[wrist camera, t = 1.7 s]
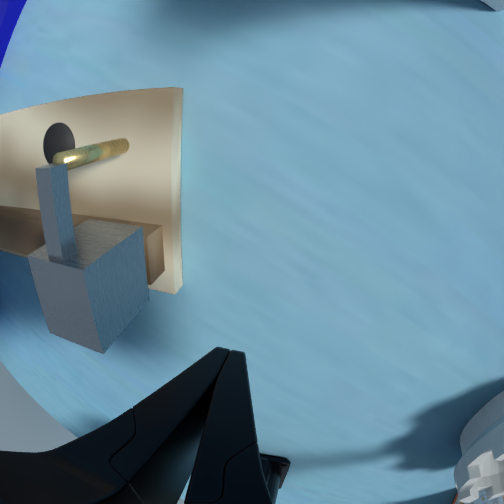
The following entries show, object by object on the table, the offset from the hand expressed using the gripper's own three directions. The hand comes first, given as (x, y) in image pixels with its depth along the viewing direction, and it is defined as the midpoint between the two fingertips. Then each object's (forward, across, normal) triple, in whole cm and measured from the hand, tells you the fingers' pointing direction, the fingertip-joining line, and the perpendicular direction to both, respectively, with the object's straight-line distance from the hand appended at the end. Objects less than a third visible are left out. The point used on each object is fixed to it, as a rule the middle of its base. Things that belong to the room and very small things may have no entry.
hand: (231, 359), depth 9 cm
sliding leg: (+5, +7, -2) cm, 9 cm away
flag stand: (+7, -22, +11) cm, 26 cm away
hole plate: (+7, +16, -3) cm, 17 cm away
